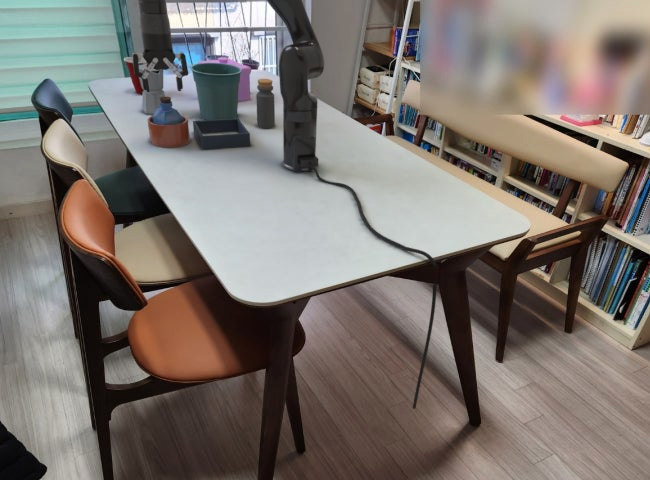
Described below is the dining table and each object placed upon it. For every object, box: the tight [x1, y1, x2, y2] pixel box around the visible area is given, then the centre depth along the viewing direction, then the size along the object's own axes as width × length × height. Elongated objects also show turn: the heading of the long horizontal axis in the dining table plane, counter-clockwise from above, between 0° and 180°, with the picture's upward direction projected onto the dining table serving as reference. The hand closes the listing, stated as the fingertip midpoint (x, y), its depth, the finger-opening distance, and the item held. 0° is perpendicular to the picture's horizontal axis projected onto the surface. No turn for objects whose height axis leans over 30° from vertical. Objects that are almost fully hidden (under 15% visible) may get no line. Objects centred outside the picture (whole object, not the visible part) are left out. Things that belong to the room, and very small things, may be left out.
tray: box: [192, 117, 251, 150], centre depth 163 cm, size 14×14×4 cm
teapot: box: [187, 56, 252, 102], centre depth 197 cm, size 15×25×14 cm, turn 131°
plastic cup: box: [123, 56, 146, 95], centre depth 194 cm, size 11×11×12 cm
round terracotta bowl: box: [146, 114, 191, 148], centre depth 158 cm, size 11×11×6 cm
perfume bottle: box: [152, 95, 183, 125], centre depth 156 cm, size 6×6×12 cm
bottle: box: [255, 78, 276, 130], centre depth 174 cm, size 6×6×15 cm
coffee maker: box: [139, 62, 166, 116], centre depth 176 cm, size 15×9×18 cm, turn 42°
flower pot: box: [189, 62, 242, 120], centre depth 178 cm, size 16×16×16 cm
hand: (163, 91), depth 151 cm, fingers open, 8 cm apart
